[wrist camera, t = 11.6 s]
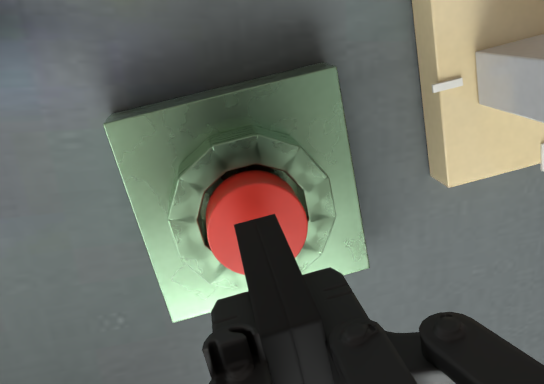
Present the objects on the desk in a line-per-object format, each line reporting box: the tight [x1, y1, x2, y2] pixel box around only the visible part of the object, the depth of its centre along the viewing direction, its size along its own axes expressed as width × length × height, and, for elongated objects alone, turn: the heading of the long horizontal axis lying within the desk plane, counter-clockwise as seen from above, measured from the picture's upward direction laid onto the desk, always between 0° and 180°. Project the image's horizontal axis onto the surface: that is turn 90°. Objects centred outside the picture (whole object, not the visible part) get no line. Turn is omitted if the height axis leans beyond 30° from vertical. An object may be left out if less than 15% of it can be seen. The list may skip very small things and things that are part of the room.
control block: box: [103, 62, 370, 323], centre depth 22 cm, size 10×10×4 cm
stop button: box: [206, 170, 308, 275], centre depth 20 cm, size 4×4×2 cm
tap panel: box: [412, 0, 544, 188], centre depth 23 cm, size 11×11×2 cm
